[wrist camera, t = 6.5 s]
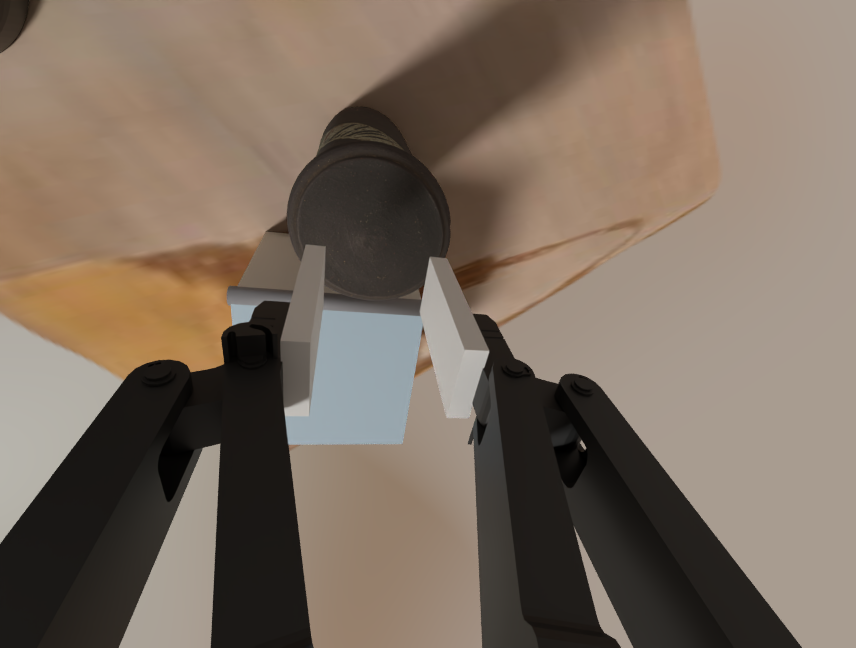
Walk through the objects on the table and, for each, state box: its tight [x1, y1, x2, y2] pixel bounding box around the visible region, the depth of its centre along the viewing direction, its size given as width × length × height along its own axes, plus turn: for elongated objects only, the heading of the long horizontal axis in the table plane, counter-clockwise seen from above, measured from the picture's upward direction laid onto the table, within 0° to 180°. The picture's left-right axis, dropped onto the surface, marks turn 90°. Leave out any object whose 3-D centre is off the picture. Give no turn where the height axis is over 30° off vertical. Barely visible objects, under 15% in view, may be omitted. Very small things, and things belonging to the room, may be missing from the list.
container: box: [287, 107, 450, 301], centre depth 29 cm, size 9×9×20 cm
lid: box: [227, 286, 423, 445], centre depth 34 cm, size 15×14×1 cm
